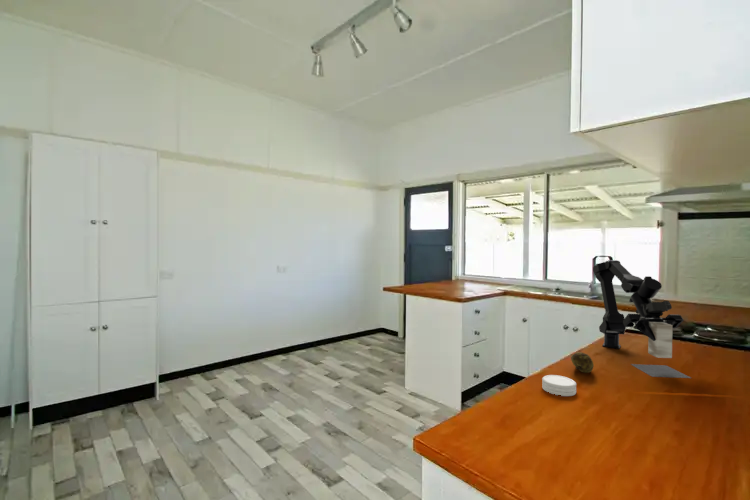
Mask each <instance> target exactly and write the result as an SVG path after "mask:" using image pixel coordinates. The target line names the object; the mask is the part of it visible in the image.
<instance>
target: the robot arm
mask: <svg viewBox="0 0 750 500" xmlns="http://www.w3.org/2000/svg"><path fill="white" fill-rule="evenodd" d="M592 271H593V273H594V276H595V279H597V280H598V282H599V284H600V289H601V293H602V294H601V295H602V300H603V306H604V312H605V313H604V315H602V316H603V317H602V322H601V324H600V325H599V327H598V328H599V332H600V333H601V334H603V335H604V336H603V339H604V341H603V344H602V345H601V346H602V347H605V348H611V349H618V350H619V349H620V348H621V344H620V335H625V332H626V328H634V330H638V331H639V332H641V333H642V334H643V335H645V336H646V337H647V338H648V337H649V338H650V339H652V340H653V341H655V340H656V339H655V336H654V334H653V332H652V330H651V328H650V326H649V322H664V323H667V324H670V325H673V327H672V329H677V328H678V327H679V326H680V325H681V324H682V323H683V322H684V321H685V319H684V318H683V317H682V315H680V314H671V313H670V314H668V315H666V317H662V316H663V315H664V312H668V311H670V310H672V308H673V307H672V303H671V302H670V301H669V300H664V301H652V300H651V299H653V298H655V296H656V295H657V294H658V293H659V291H660V290H661V289H662V288H663V287H662V286H663V285H662V283H661V282H660V281H659V280H657V279H654V278H652V276H649V275H648V276H645V277H643V279H642V278H641V277H639V276H637V275H633V274H632V273H631V272H630V271H628V270H627V268H625V266H623V264H621V262H620V260H617V259H616V260H615V259H614V260H612V259H609V260H606V261H603V262H600V263H596V264H595V265H593V267H592ZM615 277H616V278H617V279H618V280H619V281H620V283H621V284H620V286H621V288H622V290H623V292H625V293H626V294H631V296H630V298H629V303H633V305H634V306H635V308H636V310H635V313H628V314H626V316H625V315H624V314H623V313H621V312H620V311H619V310H618V306H617V305H618V304H617V299H616V294H615V288H614V285H613V284H614V283H613V279H614V278H615Z"/></svg>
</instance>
